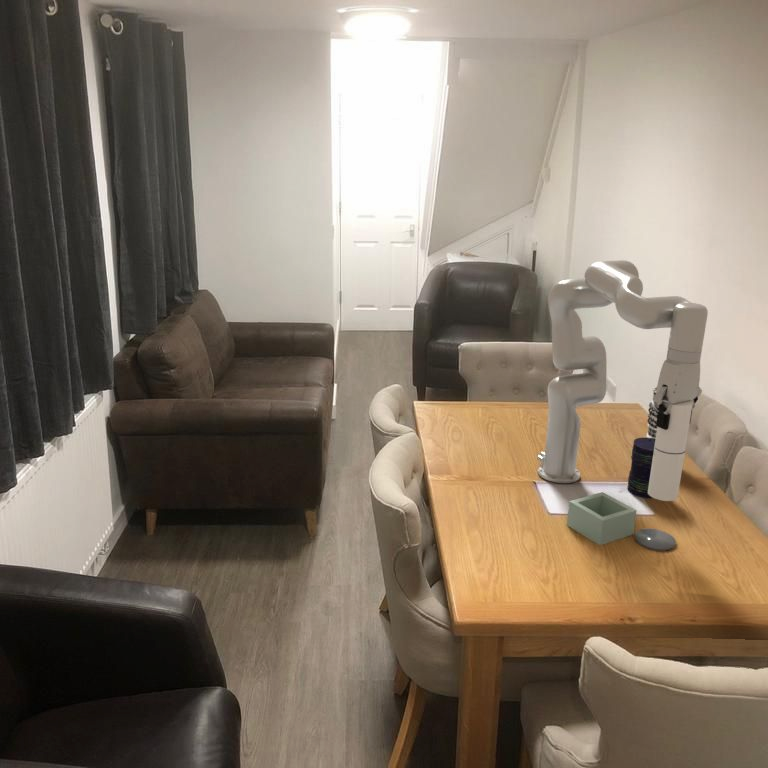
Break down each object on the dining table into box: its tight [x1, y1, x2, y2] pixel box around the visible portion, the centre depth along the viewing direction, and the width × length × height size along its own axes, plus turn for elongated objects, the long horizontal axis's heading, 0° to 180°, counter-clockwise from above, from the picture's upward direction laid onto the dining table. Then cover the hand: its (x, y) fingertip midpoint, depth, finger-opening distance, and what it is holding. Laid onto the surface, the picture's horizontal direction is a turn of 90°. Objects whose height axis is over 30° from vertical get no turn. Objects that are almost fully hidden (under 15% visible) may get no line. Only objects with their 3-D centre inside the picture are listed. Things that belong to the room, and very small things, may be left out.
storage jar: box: [626, 437, 655, 500], centre depth 227 cm, size 10×10×15 cm
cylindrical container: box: [648, 398, 693, 502], centre depth 193 cm, size 7×7×25 cm
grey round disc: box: [634, 528, 677, 552], centre depth 201 cm, size 10×10×1 cm
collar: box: [566, 491, 637, 546], centre depth 205 cm, size 12×12×7 cm
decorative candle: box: [645, 386, 658, 439], centre depth 247 cm, size 9×9×25 cm
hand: (673, 424), depth 191 cm, fingers closed on cylindrical container, 7 cm apart
